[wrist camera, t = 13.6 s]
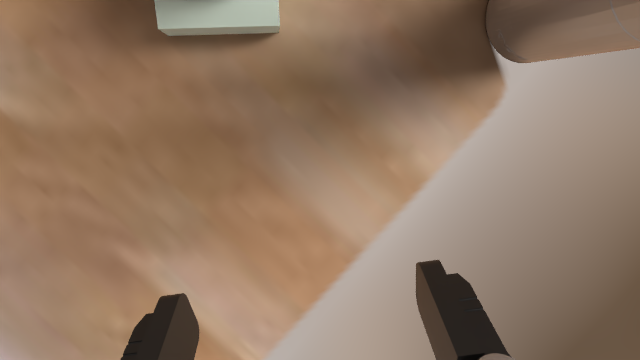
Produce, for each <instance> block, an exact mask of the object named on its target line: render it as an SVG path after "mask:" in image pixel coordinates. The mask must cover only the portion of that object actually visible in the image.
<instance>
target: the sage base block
mask: <svg viewBox="0 0 640 360" xmlns="http://www.w3.org/2000/svg"><path fill="white" fill-rule="evenodd" d="M154 2H155V10H156V17H157V25H158V29H159V30H160V31H162V32H163V33H165V34H167V35H168V36H182V35H217V34H251V33H279V29H280V17H279V2H278V0H154Z"/></svg>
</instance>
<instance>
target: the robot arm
mask: <svg viewBox="0 0 640 360" xmlns="http://www.w3.org/2000/svg"><path fill="white" fill-rule="evenodd" d="M486 28H487V33H488V37H489V39H490V41H491V43H492V45H493V46H494V48H495V49H496V51H497V52H498V53H499V54H501V55H502V56H503V57H504V58H506V59H508V60H510V61H513V62H517V63H531V62H538V61H546V60H554V59H562V58H569V57H576V56H584V55H591V54H599V53H607V52H613V51H621V50H629V49H636V48H640V0H489V2H488V5H487V11H486ZM416 299H417V305H418V309H419V312H420V315H421V318H422V321H423V324H424V327H425V329H426V332H427V335H428V337H429V340H430V343H431V346H432V349H433V352H434V355H435V357H436V360H515V359H514V358H512V357H511V356H510V355H509V354H508V352H507V351H506V349H505V347H504V345H503V344H502V342H501V340H500V338H499V336H498V334H497V333H496V331H495V329H494V327H493V325H492V323H491V322H490V320H489V318H488V316H487V314H486V312H485V311H484V310H483V307H482V305H481V303H480V301H479V300H478V299H477V296H476V294H475V292H474V291H473V289H472V287H471V285H470V283H468V282H467V281H466V280H465V279H464V278H463V277H461V276H460V275H459V274H458V273H456V274H448V275H447V274H446V272H445V270H444V268H443V266H442V264H441V262H440V261H439V260H433V261H426V262H418V263H417V264H416ZM198 341H199V325H198V322H197V319H196V317H195V315H194V312H193V310H192V307H191V305H190V303H189V300H188V298H187V296H186V295H185V294H184V293H182V294H175V295H167V296H162V297H160V299H159V300H158V303H157V305H156V308H155V310H154V313H151V314H146V315H145V316H144V317H143V318H142V320H141V321H140V322H139V323H138V324H137V325H136V327H135V328H134V330H133V332H132V335H131V337H130V339H129V342H128V345H127V346H126V348H125V351H124V353H123V357H122V358H121V360H194V357H195V353H196V349H197V345H198Z"/></svg>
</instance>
